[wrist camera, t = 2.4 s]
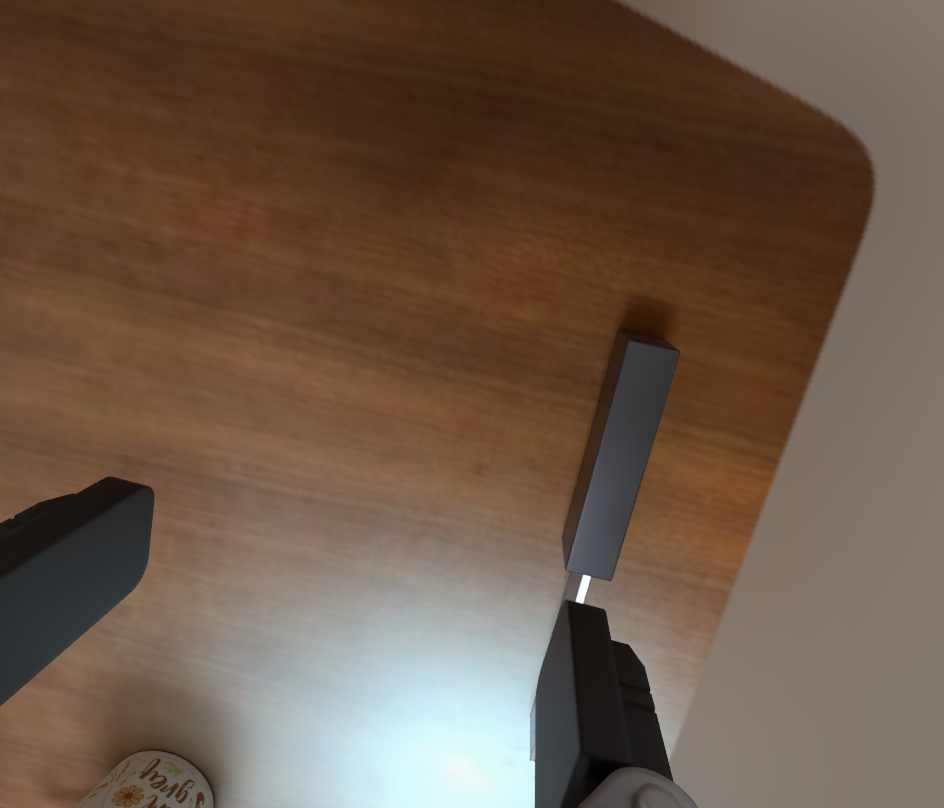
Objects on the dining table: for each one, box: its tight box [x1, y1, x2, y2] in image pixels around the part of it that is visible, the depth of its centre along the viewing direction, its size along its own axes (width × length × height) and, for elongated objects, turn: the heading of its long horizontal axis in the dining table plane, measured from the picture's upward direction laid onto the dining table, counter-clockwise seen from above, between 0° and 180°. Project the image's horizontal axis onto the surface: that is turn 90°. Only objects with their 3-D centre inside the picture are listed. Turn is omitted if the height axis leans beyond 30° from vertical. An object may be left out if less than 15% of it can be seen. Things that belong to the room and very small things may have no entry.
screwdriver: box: [530, 329, 680, 761], centre depth 27 cm, size 20×2×3 cm, turn 168°
